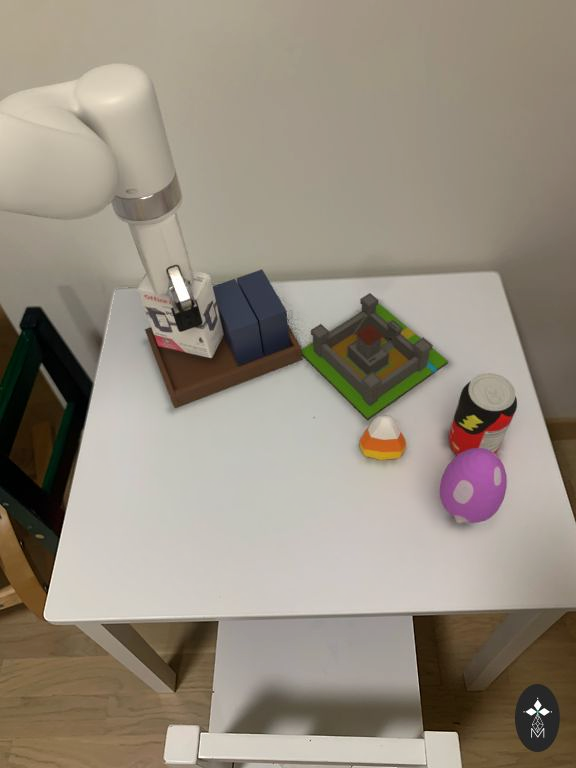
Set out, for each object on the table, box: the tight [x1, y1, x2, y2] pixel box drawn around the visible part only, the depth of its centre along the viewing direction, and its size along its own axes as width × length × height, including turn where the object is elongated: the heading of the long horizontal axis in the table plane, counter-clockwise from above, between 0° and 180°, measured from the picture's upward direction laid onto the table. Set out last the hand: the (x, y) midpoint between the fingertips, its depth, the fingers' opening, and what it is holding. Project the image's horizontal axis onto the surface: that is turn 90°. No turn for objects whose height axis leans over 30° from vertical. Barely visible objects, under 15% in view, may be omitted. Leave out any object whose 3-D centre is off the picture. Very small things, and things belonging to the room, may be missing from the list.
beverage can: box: [448, 372, 518, 456], centre depth 72 cm, size 6×6×12 cm
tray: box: [144, 324, 303, 409], centre depth 87 cm, size 20×14×3 cm
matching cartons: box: [212, 269, 290, 367], centre depth 86 cm, size 8×9×8 cm
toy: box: [438, 448, 508, 524], centre depth 65 cm, size 7×7×15 cm
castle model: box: [301, 292, 449, 421], centre depth 83 cm, size 15×15×7 cm
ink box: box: [136, 269, 224, 358], centre depth 79 cm, size 8×5×12 cm, turn 72°
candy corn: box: [358, 414, 407, 461], centre depth 74 cm, size 6×3×8 cm, turn 83°
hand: (179, 301), depth 78 cm, fingers closed on ink box, 9 cm apart
